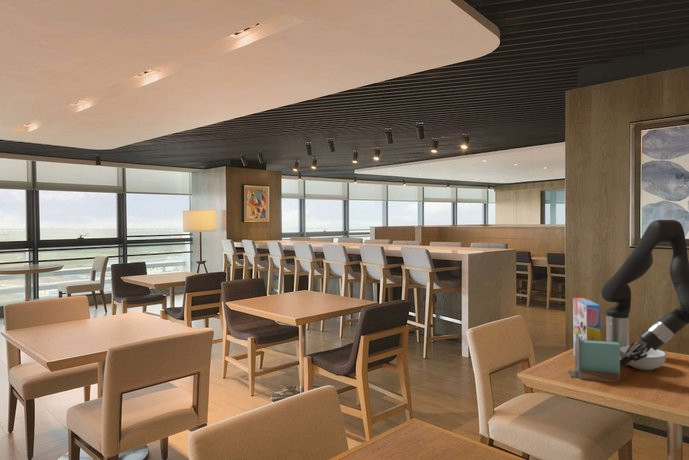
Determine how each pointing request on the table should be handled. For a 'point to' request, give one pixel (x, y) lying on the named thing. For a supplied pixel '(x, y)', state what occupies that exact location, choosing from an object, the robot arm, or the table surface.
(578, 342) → the bookend
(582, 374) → the shelf slot
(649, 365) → the cereal bowl
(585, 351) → the book box
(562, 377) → the table surface
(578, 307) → the game box
